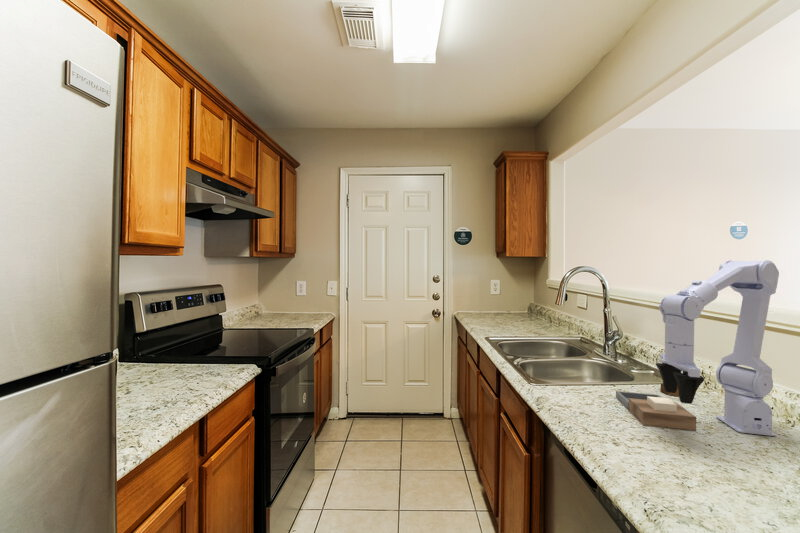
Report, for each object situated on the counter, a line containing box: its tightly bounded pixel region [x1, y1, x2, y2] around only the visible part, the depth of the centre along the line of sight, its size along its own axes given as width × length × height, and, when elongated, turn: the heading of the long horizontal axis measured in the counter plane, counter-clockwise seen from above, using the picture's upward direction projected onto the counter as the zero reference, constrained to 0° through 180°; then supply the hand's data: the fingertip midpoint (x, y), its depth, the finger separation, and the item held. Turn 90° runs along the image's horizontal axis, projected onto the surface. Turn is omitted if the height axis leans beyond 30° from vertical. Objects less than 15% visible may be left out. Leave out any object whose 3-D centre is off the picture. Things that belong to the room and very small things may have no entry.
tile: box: [647, 396, 677, 412], centre depth 97 cm, size 5×5×2 cm
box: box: [615, 390, 663, 410], centre depth 108 cm, size 10×12×2 cm
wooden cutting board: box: [628, 398, 697, 431], centre depth 97 cm, size 10×12×4 cm
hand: (677, 397), depth 89 cm, fingers open, 7 cm apart
